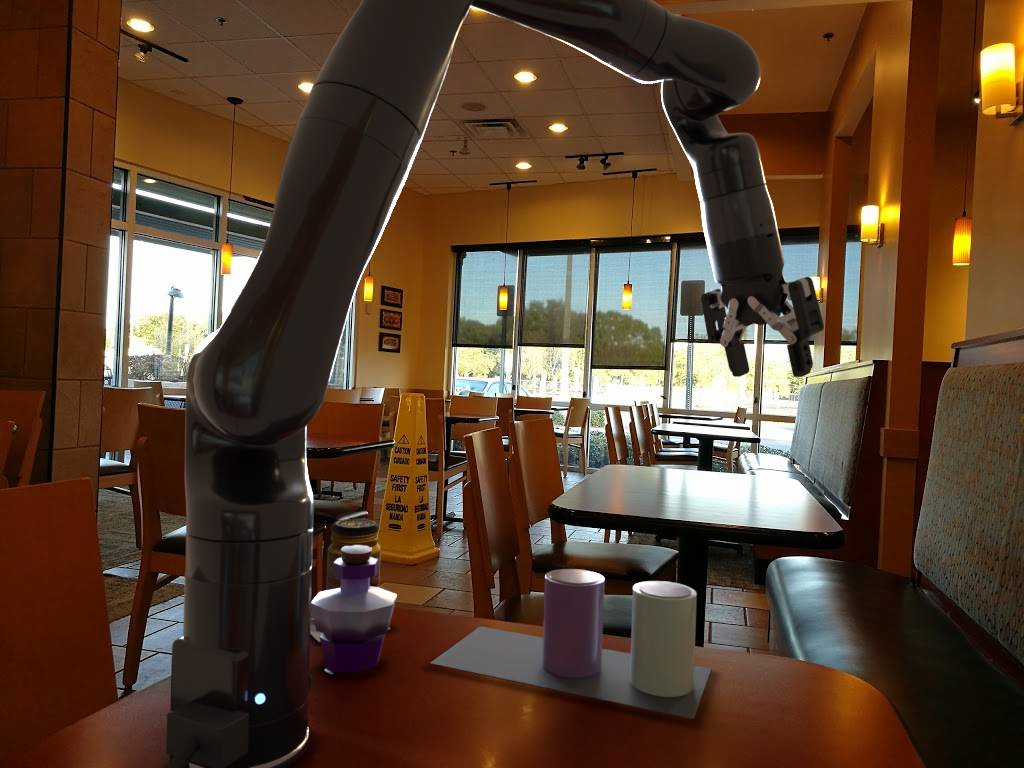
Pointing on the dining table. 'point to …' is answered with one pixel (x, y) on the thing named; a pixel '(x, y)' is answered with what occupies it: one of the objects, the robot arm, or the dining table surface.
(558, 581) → the purple tumbler
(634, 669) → the celadon tumbler
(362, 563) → the potion bottle
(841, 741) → the dining table surface
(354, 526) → the condiment
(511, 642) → the placemat
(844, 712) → the dining table surface
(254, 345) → the robot arm
